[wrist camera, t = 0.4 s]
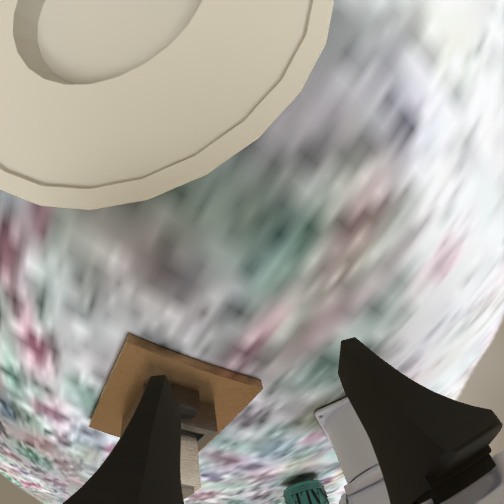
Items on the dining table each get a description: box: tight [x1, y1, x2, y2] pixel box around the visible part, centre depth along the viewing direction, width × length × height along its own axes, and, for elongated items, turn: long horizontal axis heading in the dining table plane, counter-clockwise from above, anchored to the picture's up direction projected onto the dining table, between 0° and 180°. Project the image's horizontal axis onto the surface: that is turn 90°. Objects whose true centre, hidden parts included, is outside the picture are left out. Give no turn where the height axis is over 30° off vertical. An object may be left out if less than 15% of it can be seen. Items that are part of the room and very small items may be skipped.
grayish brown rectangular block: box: [180, 429, 201, 499], centre depth 21 cm, size 4×4×8 cm
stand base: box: [89, 334, 263, 452], centre depth 24 cm, size 14×12×4 cm
